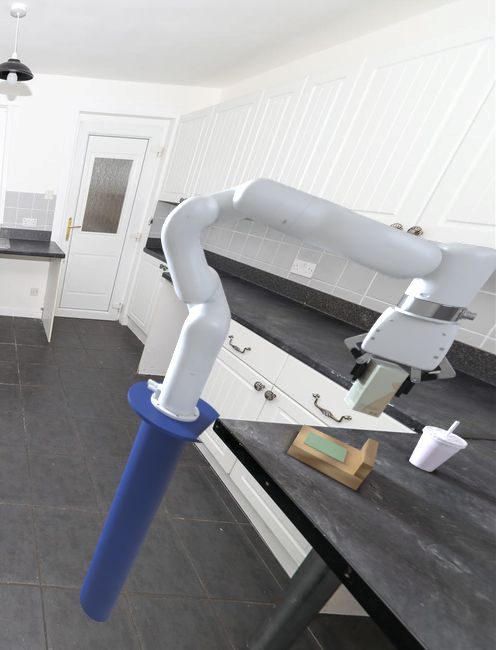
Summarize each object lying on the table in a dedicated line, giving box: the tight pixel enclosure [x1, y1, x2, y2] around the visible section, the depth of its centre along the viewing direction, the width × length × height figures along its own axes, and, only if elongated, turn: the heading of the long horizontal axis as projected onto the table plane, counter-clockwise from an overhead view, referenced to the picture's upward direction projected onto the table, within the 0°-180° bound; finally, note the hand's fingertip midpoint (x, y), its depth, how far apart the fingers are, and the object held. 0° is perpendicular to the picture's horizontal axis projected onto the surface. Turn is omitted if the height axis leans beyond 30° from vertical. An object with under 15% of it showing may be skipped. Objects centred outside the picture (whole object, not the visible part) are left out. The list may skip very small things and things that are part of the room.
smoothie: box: [409, 420, 469, 473], centre depth 78 cm, size 6×6×14 cm
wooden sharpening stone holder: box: [286, 423, 380, 491], centre depth 79 cm, size 12×13×7 cm
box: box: [344, 357, 410, 419], centre depth 70 cm, size 5×4×11 cm
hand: (375, 385), depth 70 cm, fingers closed on box, 5 cm apart
